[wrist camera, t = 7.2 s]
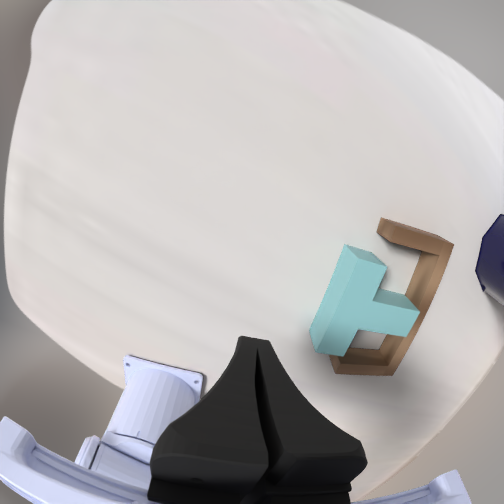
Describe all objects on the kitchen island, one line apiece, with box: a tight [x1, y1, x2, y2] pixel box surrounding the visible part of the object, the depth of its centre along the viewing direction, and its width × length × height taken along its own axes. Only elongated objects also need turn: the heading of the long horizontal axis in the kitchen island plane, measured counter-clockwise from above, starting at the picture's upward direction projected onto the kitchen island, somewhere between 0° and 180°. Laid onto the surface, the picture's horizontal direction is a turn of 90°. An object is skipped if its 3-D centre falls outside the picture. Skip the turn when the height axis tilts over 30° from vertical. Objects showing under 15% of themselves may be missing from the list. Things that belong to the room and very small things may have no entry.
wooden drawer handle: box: [329, 218, 454, 376], centre depth 21 cm, size 13×6×2 cm, turn 168°
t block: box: [309, 244, 420, 356], centre depth 21 cm, size 8×8×3 cm
